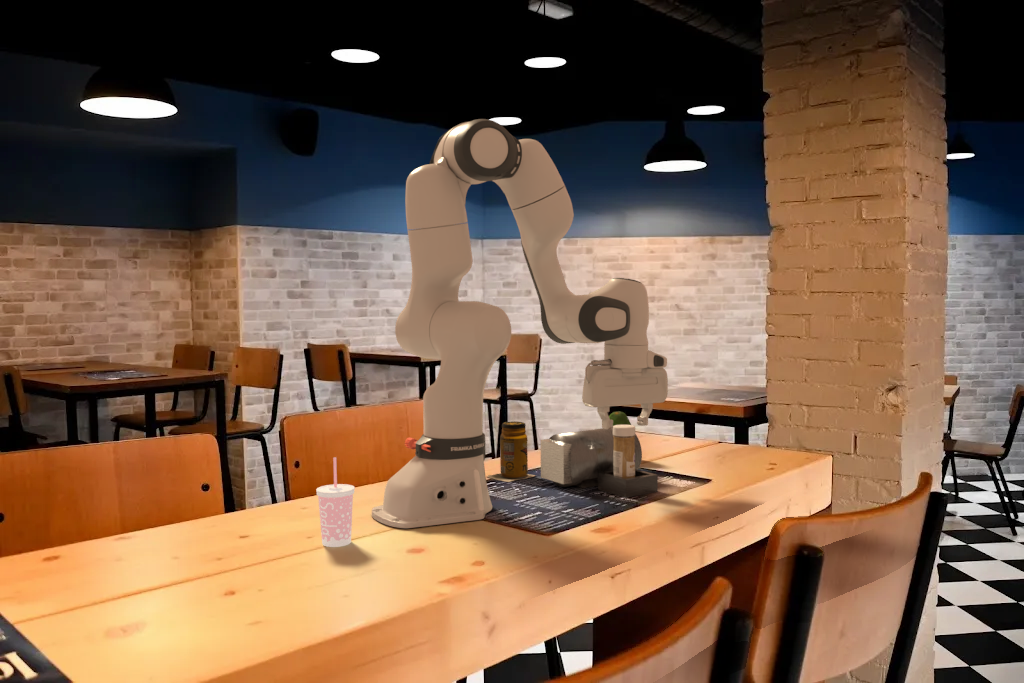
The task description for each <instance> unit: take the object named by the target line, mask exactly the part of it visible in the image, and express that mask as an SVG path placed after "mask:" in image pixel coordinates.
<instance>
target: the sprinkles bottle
mask: <svg viewBox="0 0 1024 683" xmlns="http://www.w3.org/2000/svg"><path fill="white" fill-rule="evenodd" d="M635 434H636V426H635V425H633V424H631V425H615V426H613V435H614V436H613V437H614V450H613V465H614V476H618V477H622V478H626V479H627V478H633V477H635V443H634V440H635V439H634V438H635Z"/></svg>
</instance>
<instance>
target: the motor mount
mask: <svg viewBox="0 0 1024 683" xmlns="http://www.w3.org/2000/svg"><path fill="white" fill-rule="evenodd" d="M613 436H614V435H613V428H612V429H603V428H602V427H601V428H595V429H588V430H587V429H586V430H581V431H572V432H564V433H556V434H553V435H551V436H550V437H549V438H545V439H540V478H542V479H545V480H548V481H551V482H553V484H554V485H556V486H557V487H559V488H560V487H561V488H567V487H573V486H575V487H577V488H581V489H586V488H593V487H597V490H598V491H601V492H605V493H608V494H612V495H616V496H619V497H622V498H624V499H625V498H626V499H627V498H632V497H637V496H642V495H647V494H652V493H658V488H659V487H658V484H659V483H658V482H659V481H658V478H659V477H658V476H659V475H658V474H656V473H652V472H649V471H645V470H640V467H641V464H642V459H643V451H642V446H641V445H642V444H641V442H640V440H639V437H638V436H637V434H636V433H635V438H634V439H635V440H634V443H635V477H633V478H627V479H626V478H622V477H618V476H614V465H613V450H614V437H613Z"/></svg>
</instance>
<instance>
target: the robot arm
mask: <svg viewBox="0 0 1024 683" xmlns="http://www.w3.org/2000/svg"><path fill="white" fill-rule="evenodd" d="M428 163H429V164H424V165H421V166H419V167H417V168H414V169H413V170H412V171H411V172H410V173H409V175H408V176H407V178H406V180H405V202H404V204H405V220H406V228H407V229H406V230H407V235H408V236H407V237H408V244H409V251H410V252H409V253H410V262H411V283H410V289H409V290H410V291H409V295H408V299H407V302H406V305H405V307H404V308H403V310H401V312H400V313H399V315H398V316H397V319H396V322H395V327H394V329H395V330H394V331H395V338H396V340H397V343H398V345H399V346H400V348H401V349H402V350H403V351H404V352H406V353H409V354H411V355H414V356H416V357H419V358H421V359H425V360H426V359H427V360H428V359H429V360H440V367H439V372H438V374H437V377H436V379H435V381H434V382H433V383H432V384H431V385H429V386H428V387H427V388H426V390H425V391H424V393H423V396H422V401H423V402H422V403H423V404H422V405H423V406H422V408H423V412H422V413H423V416H422V417H423V418H422V419H423V420H422V421H423V423H422V424H423V434H422V435H421V436H420V438H419V439H418V440H417V439H416V438H413V437H407V438H406V439H405V441H404V446H405V447H406V448H407V449H410V450H415V454H414V455H415V456H413V458H412V459H410V460H409V461H408V462H407V463H406V464H405V465H404V466H402V467H401V468H400V469H399V470H398V471H397V472H396V473H395V474H393V475H392V476H391V477H390V478H389V479H388V480H387V482H386V483H385V484H386V485H385V488H384V495H383V503H382V504H381V505H377V506H374V507H372V509H371V517H372V518H373V519H374V520H375V521H377V522H378V523H381V524H383V525H386V526H389V527H394V528H398V529H412V528H420V527H428V526H429V527H430V526H436V525H437V526H438V525H445V524H455V523H462V522H470V521H478V520H483V519H485V517H486V514H487V513H489V512H491V511H492V510H493V505H492V504H493V503H492V501H491V497H490V493H489V490H488V484H487V475H486V469H485V459H486V434H485V433H484V430H483V428H484V427H483V424H484V423H483V419H484V414H483V411H484V409H483V408H484V395H485V389H486V385H487V384H486V382H487V380H488V377H489V375H490V372H491V370H492V368H493V365H494V364H495V363H496V361H497V360H498V359H499V358H500V357H501V356H502V355H503V354H505V352H506V351H507V349H508V348H509V346H510V343H511V339H512V325H511V322H510V319H509V316H508V315H507V313H506V312H505V310H503V309H502V308H501V307H499V306H497V305H493V304H490V303H486V302H482V301H479V300H477V301H475V300H473V301H472V300H471V301H470V300H469V301H468V300H465V301H464V300H463V301H461V300H459V292H460V291H459V290H460V286H461V282H462V280H463V278H464V277H465V276H466V275H467V274H468V273H469V272H470V270H471V268H472V266H473V260H474V259H473V253H472V245H471V244H472V243H471V236H470V231H469V230H470V229H469V222H468V215H467V210H466V200H467V198H466V197H467V193H468V190H469V189H470V187H471V185H479V184H483V183H486V182H493V183H495V184H496V185H497V186H498V187H499V188H500V189H501V191H502V193H503V194H504V195H505V197H506V200H507V203H508V205H509V208H510V209H511V212H512V214H513V217H514V219H515V222H516V225H517V227H518V231H519V234H520V244H521V248H522V252H523V256H524V259H525V262H526V266H527V267H528V271H529V274H530V277H531V280H532V282H533V285H534V289H535V291H536V294H537V298H538V301H539V307H540V317H541V318H540V320H541V324H542V328H543V330H544V333H545V335H546V336H548V338H549V339H550V340H552V341H553V342H555V343H556V344H557V343H558V344H562V345H566V344H567V345H568V344H574V343H575V344H576V343H578V344H600V343H603V342H604V348H603V350H604V351H603V352H604V354H603V355H604V359H599V360H598V359H592V360H591V361H590V362H589V363H588V364H587V365H586V366H585V368H584V369H585V371H584V374H585V375H584V380H583V384H582V396H581V397H582V398H581V400H582V403H583V404H584V406H585V407H589V408H596V412H597V414H598V416H599V417H600V420H601V429H602V428H603V429H612V428H613V420H610V418H609V412H610V408H611V407H619V406H630V405H631V406H632V405H640V408H642V409H641V413H640V414H639V415H638V416H636V420H637V421H636V424H637V426H641V427H642V426H643V427H644V426H645V427H646V426H648V425H649V417H650V416H651V415H650V414H652V411H653V408H654V404H661V403H665V401H666V399H667V398H668V391H669V388H668V387H669V386H668V385H669V384H668V373H667V370H666V367H667V365H668V358H667V357H666V356H664V355H661V354H659V353H657V352H654V351H653V350H652V351H651V350H649V340H648V336H647V334H648V333H647V332H648V327H649V324H650V321H649V319H650V309H649V308H650V307H649V306H650V305H649V296H648V291H647V288H646V286H645V284H644V283H642V282H641V281H638V280H636V279H632V278H625V277H614V278H610V279H609V280H608V282H607V283H606V284H604V285H602V287H600V288H598V289H597V290H594V291H592V292H589V293H588V294H581V295H580V294H578V295H577V294H575V293H573V292H572V291H570V289H569V288H568V286H567V283H566V279H565V276H564V274H563V270H562V268H561V264H560V262H559V259H558V254H557V252H558V250H557V249H558V245H559V243H560V241H561V240H562V239H563V238H564V237H565V236H566V235H567V233H568V231H569V230H570V228H571V226H572V224H573V221H574V216H575V214H574V208H573V207H574V206H573V203H572V199H571V197H570V195H569V193H568V190H567V187H566V185H565V183H564V181H563V178H562V176H561V175H560V173H559V171H558V169H557V166H556V164H555V163H554V161H553V159H552V158H551V157H550V154H549V153H548V152H547V150H546V149H545V147H544V146H543V144H542V143H541V142H539V140H536V139H532V138H522V139H517V138H516V137H515V136H514V135H512V134H511V133H510V132H509V131H508V130H507V129H506V128H505V127H504V126H503V125H502V124H499V123H498V122H497V121H495V120H492V119H491V120H490V119H488V118H487V119H486V118H478V119H473V120H470V121H464V122H461V123H459V124H457V125H455V126H453V127H452V128H450V129H448V130H447V131H445V132H444V133H442V135H441V136H440V137H439V139H438V140H437V143H436V145H435V147H434V150H433V153H432V155H431V158H430V161H429V162H428Z"/></svg>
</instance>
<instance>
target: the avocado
mask: <svg viewBox="0 0 1024 683" xmlns="http://www.w3.org/2000/svg"><path fill="white" fill-rule="evenodd" d="M608 416H609V418H610V420H613V426H615V425H632V422H630V419H629V417H628V415H627V414H626V413H625V412H623V411H619V410H618V411H612V413H610V414H608Z"/></svg>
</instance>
